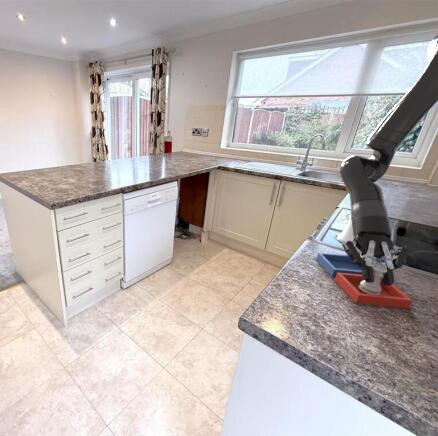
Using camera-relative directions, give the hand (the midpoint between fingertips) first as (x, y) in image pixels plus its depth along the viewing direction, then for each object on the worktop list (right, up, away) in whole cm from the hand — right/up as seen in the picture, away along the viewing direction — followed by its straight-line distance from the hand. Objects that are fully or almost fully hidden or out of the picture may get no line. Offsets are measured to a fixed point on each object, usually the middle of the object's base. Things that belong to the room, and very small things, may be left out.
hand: (379, 283), depth 61 cm
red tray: (0, -4, +3) cm, 5 cm away
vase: (+18, +7, +31) cm, 37 cm away
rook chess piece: (0, -3, +3) cm, 5 cm away
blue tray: (+2, +1, +13) cm, 14 cm away
